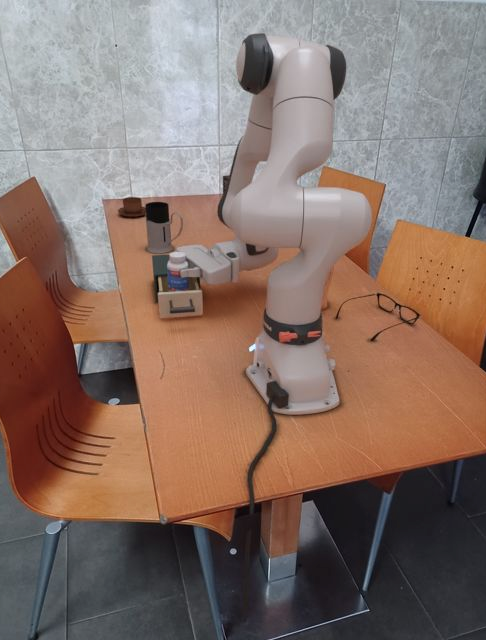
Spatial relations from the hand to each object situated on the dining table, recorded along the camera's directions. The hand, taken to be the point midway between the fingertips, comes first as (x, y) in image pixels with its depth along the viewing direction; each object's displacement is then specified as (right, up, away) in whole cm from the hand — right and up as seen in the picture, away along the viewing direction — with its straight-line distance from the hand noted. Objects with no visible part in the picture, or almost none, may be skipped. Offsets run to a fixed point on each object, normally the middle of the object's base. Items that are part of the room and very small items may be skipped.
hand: (174, 269), depth 127 cm
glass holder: (-9, +13, +44) cm, 47 cm away
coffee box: (+13, +33, +76) cm, 84 cm away
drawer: (+1, -10, +4) cm, 11 cm away
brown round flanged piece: (-28, +35, +78) cm, 90 cm away
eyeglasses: (+51, -14, +2) cm, 53 cm away
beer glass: (+37, -8, +10) cm, 40 cm away
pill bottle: (+1, -5, +4) cm, 6 cm away
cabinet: (-2, -3, +16) cm, 17 cm away
